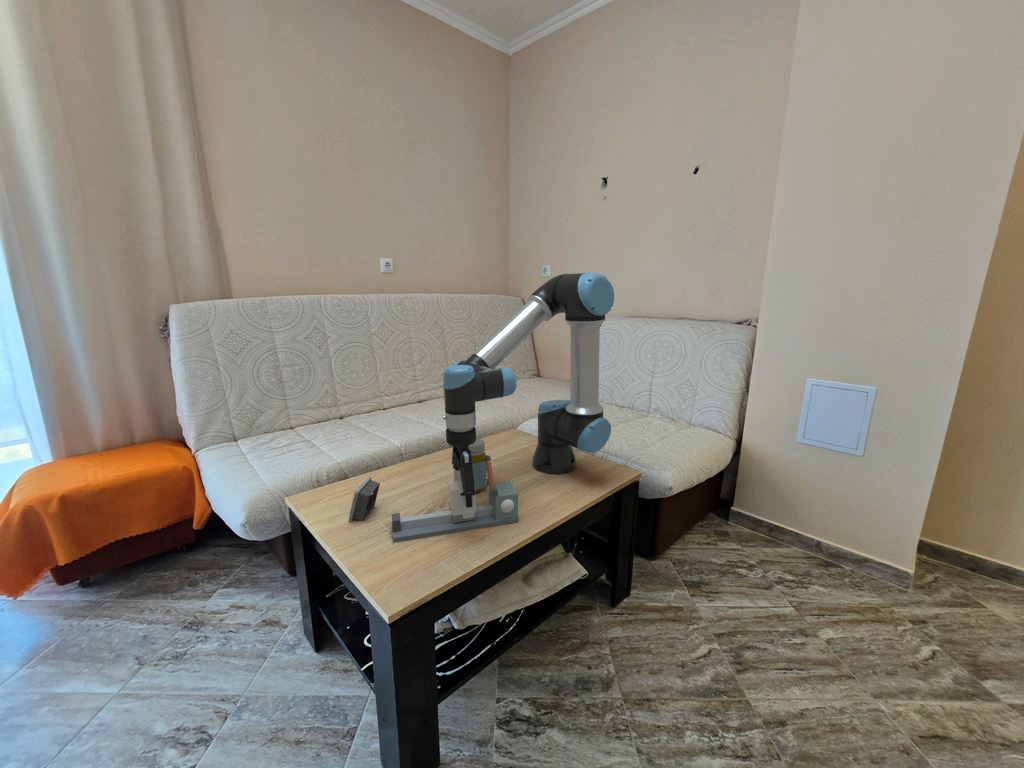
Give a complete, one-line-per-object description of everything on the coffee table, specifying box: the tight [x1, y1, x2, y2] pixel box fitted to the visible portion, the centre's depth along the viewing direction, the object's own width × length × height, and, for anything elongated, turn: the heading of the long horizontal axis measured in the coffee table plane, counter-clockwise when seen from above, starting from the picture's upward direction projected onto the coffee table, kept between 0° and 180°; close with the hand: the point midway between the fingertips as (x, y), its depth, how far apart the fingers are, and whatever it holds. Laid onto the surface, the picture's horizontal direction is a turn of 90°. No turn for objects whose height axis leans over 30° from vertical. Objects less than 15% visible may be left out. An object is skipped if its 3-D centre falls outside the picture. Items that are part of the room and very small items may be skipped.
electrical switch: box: [348, 476, 381, 522], centre depth 114 cm, size 9×5×9 cm, turn 176°
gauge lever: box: [484, 454, 495, 491], centre depth 110 cm, size 2×4×9 cm, turn 17°
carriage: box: [448, 480, 477, 523], centre depth 109 cm, size 6×5×9 cm
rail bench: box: [391, 478, 519, 544], centre depth 109 cm, size 32×9×10 cm, turn 107°
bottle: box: [468, 438, 487, 493], centre depth 128 cm, size 7×7×15 cm
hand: (463, 503), depth 110 cm, fingers open, 13 cm apart
